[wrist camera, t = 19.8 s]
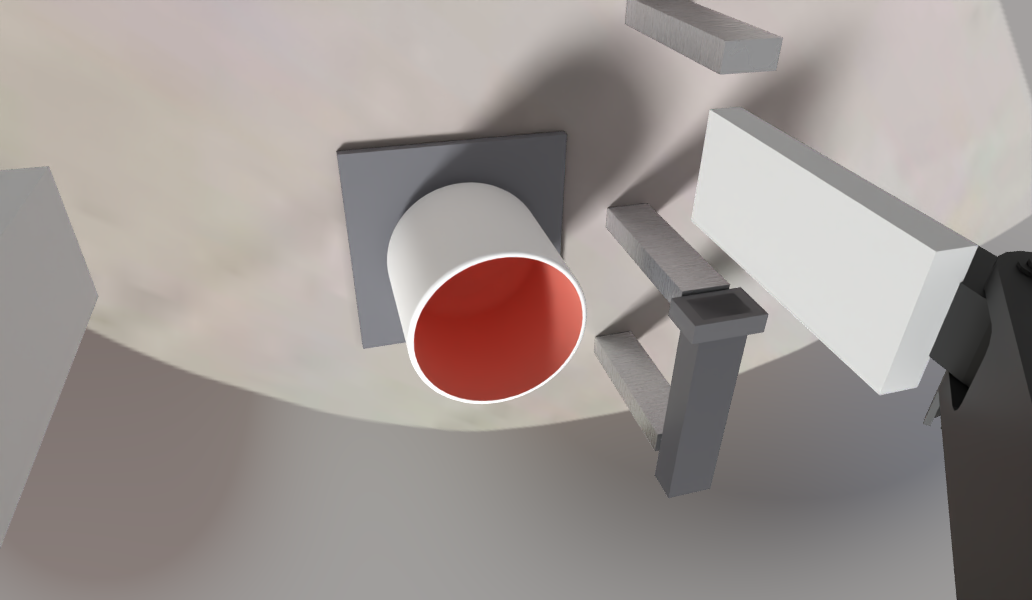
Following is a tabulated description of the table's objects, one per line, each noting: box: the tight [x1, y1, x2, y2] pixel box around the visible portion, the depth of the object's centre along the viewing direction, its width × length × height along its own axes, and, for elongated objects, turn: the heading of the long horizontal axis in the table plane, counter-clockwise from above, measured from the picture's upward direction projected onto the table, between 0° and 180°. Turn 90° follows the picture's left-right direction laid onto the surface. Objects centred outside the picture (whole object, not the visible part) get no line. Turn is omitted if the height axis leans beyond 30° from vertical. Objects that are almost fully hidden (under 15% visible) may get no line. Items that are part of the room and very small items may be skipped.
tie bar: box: [655, 287, 768, 498], centre depth 42 cm, size 14×4×3 cm, turn 179°
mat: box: [337, 131, 567, 349], centre depth 46 cm, size 14×14×1 cm
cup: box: [387, 182, 587, 404], centre depth 42 cm, size 10×10×10 cm
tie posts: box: [594, 0, 783, 451], centre depth 43 cm, size 26×3×11 cm, turn 179°
